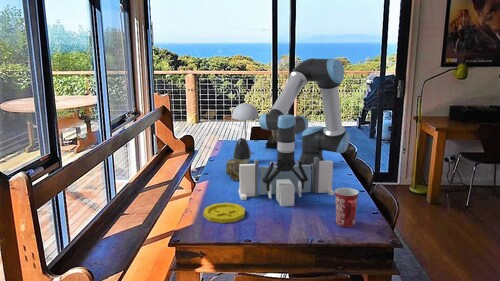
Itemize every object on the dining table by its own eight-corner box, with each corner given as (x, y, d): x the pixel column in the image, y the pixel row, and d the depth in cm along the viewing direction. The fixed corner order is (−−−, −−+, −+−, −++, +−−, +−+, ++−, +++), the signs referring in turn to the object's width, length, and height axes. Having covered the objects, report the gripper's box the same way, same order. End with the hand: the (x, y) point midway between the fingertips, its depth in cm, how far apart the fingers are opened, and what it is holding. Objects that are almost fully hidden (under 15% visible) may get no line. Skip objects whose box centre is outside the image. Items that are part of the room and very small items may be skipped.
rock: (222, 180, 213) (241, 183, 210) (223, 161, 211) (242, 162, 209) (232, 173, 231) (250, 175, 229) (233, 155, 230) (251, 157, 227)
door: (312, 191, 198) (313, 163, 195) (314, 193, 195) (315, 165, 192) (259, 194, 195) (259, 165, 191) (260, 196, 192) (260, 167, 188)
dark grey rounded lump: (231, 165, 242) (231, 139, 239) (236, 160, 252) (235, 135, 248) (248, 166, 240) (248, 140, 236) (252, 161, 249) (252, 136, 246)
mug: (330, 219, 167) (332, 187, 164) (352, 218, 168) (354, 187, 165) (339, 233, 155) (341, 199, 152) (363, 232, 155) (365, 198, 152)
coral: (285, 150, 275) (286, 118, 270) (255, 149, 279) (255, 117, 274) (289, 142, 299) (289, 112, 294) (261, 140, 303) (261, 111, 298)
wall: (327, 187, 204) (329, 154, 200) (334, 195, 194) (336, 160, 190) (238, 192, 197) (238, 157, 194) (241, 199, 188) (241, 163, 184)
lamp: (263, 152, 270) (263, 102, 263) (249, 158, 256) (249, 105, 249) (241, 149, 279) (241, 100, 272) (226, 154, 265) (226, 103, 258)
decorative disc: (201, 223, 164) (200, 218, 163) (207, 206, 181) (207, 202, 181) (243, 224, 163) (243, 219, 163) (245, 207, 180) (245, 203, 180)
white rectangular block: (288, 197, 191) (289, 179, 189) (294, 205, 181) (294, 186, 179) (275, 198, 190) (276, 179, 188) (280, 206, 180) (281, 187, 178)
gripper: (311, 147, 186) (309, 192, 190) (256, 149, 182) (255, 195, 187) (316, 151, 178) (314, 198, 183) (259, 153, 175) (258, 201, 180)
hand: (284, 196), depth 185 cm, fingers open, 13 cm apart
